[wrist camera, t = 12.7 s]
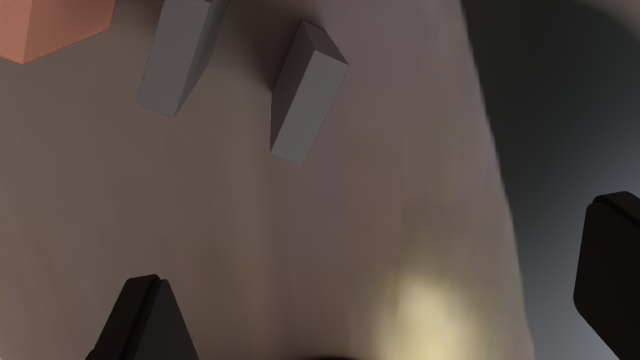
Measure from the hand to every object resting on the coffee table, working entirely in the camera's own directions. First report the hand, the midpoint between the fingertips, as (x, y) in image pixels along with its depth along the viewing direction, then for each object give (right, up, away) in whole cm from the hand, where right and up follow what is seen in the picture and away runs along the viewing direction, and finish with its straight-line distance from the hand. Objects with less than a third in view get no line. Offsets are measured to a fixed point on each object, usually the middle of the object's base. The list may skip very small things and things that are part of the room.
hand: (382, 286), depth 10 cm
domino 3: (-3, +10, +18) cm, 21 cm away
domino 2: (-8, +12, +16) cm, 22 cm away
